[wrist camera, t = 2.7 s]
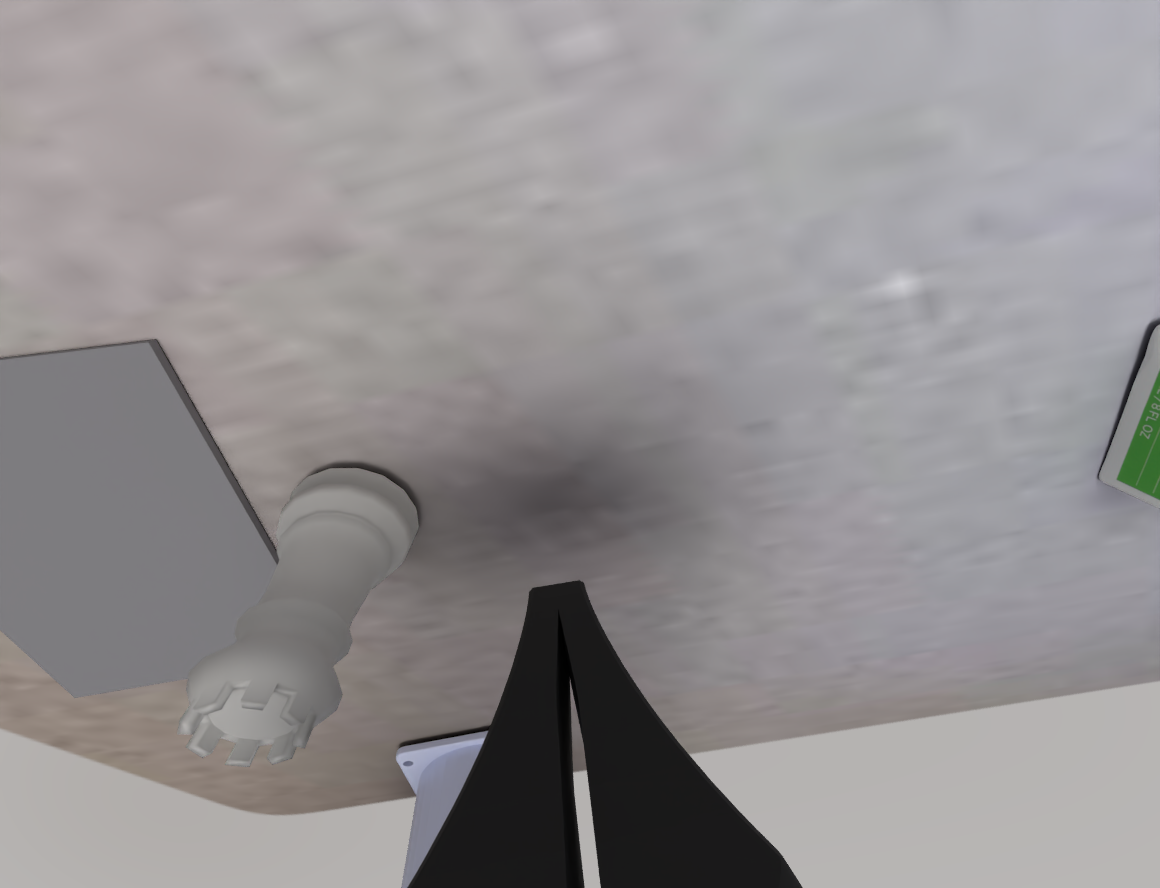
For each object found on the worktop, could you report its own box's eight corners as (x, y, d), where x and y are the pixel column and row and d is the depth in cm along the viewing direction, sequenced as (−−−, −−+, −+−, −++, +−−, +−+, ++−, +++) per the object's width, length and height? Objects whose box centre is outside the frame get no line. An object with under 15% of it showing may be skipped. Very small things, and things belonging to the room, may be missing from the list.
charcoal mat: (331, 648, 20) (328, 654, 19) (80, 691, 19) (74, 697, 19) (155, 339, 13) (148, 342, 13) (-246, 387, 12) (-263, 391, 12)
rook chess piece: (324, 437, 15) (158, 640, 8) (443, 496, 17) (391, 705, 10) (273, 526, 16) (94, 765, 9) (388, 572, 18) (308, 803, 11)
